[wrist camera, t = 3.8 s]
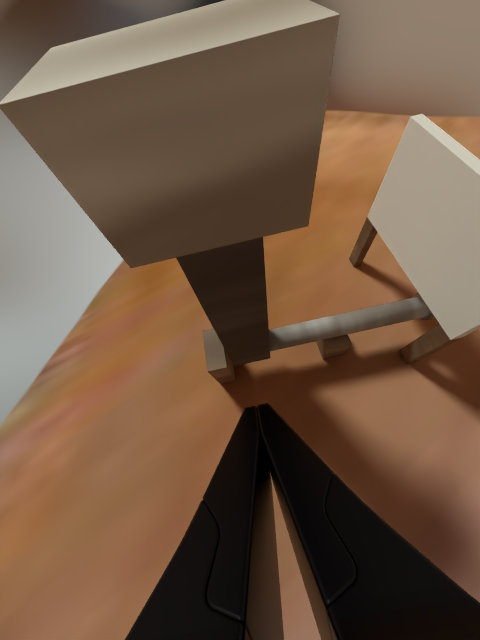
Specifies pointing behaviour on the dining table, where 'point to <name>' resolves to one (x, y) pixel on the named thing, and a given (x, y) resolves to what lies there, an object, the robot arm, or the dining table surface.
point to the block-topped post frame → (199, 151)
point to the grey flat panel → (434, 222)
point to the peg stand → (334, 346)
